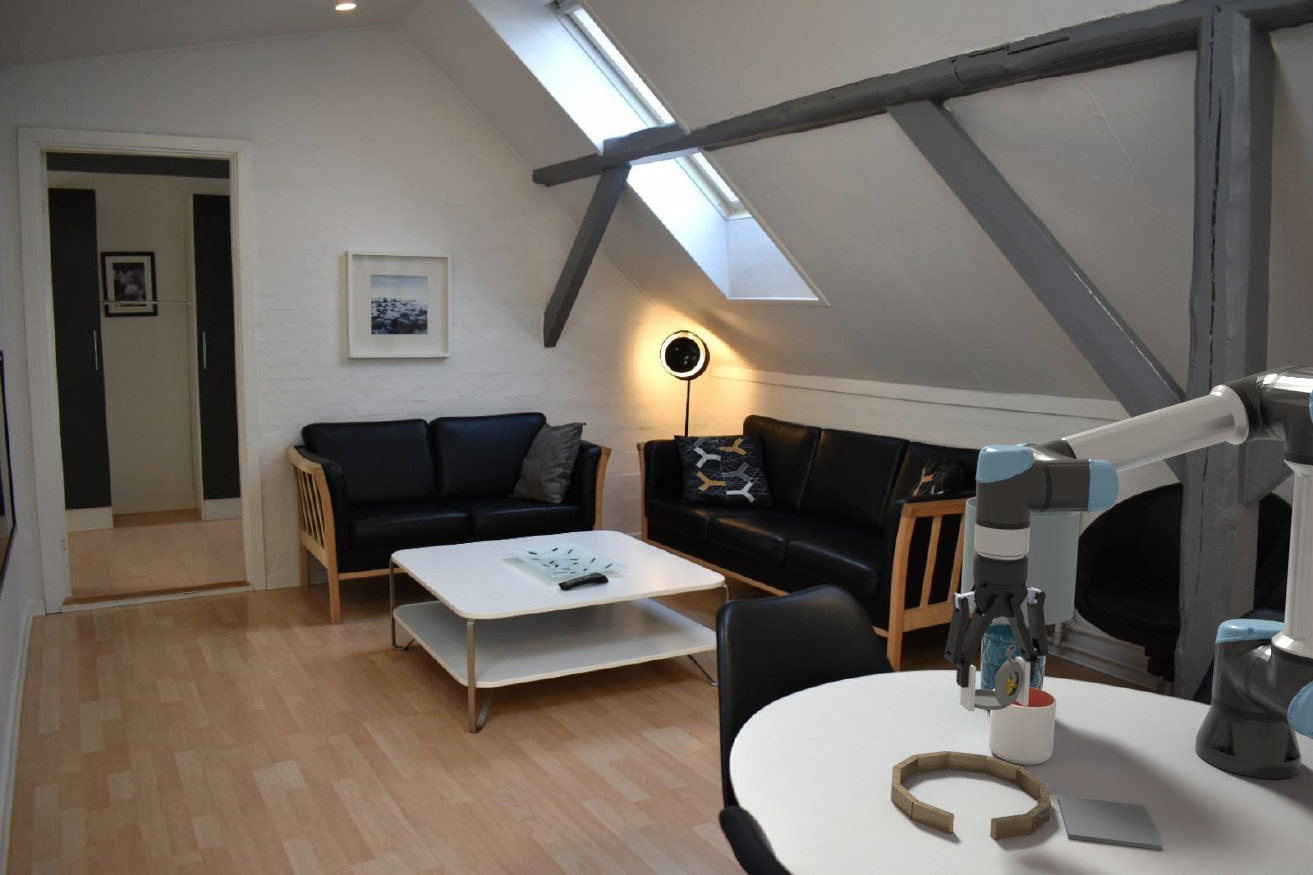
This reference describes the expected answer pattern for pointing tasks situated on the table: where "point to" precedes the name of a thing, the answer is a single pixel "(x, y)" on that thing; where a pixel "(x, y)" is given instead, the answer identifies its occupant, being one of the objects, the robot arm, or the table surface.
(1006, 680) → the pocket watch
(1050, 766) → the table surface
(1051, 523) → the lamp
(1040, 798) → the c ring
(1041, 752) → the cup
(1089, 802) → the coaster
